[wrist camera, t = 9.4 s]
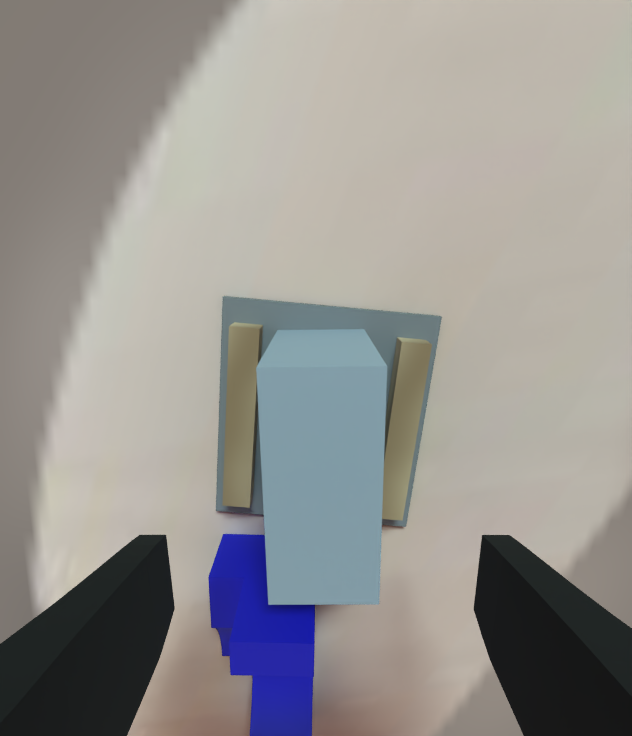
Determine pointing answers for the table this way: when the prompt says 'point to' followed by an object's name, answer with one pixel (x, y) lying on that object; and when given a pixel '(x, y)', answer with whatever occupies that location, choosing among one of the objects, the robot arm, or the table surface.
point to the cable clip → (263, 638)
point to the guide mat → (319, 317)
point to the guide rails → (244, 417)
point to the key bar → (322, 465)
